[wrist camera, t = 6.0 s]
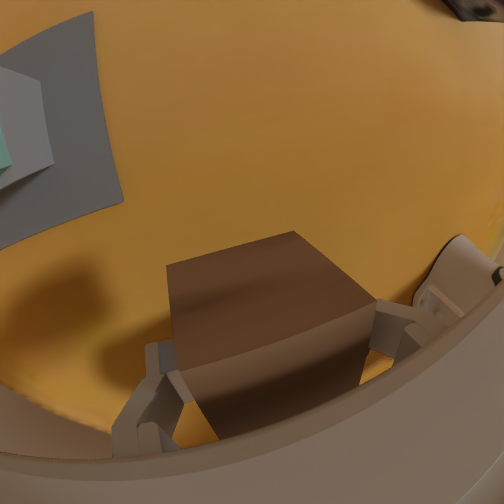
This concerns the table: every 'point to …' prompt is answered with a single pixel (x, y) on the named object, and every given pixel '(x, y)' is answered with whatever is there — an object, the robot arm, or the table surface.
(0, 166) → the teal block
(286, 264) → the walnut block
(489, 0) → the small box
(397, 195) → the table surface
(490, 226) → the table surface
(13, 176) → the slate block
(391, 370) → the robot arm
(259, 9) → the table surface
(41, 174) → the mat
